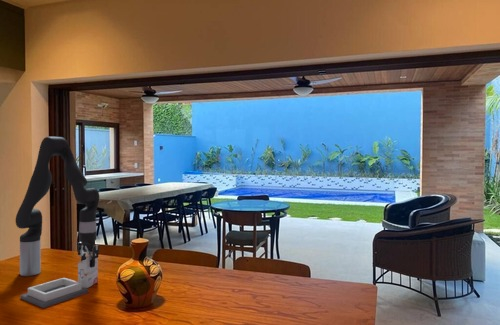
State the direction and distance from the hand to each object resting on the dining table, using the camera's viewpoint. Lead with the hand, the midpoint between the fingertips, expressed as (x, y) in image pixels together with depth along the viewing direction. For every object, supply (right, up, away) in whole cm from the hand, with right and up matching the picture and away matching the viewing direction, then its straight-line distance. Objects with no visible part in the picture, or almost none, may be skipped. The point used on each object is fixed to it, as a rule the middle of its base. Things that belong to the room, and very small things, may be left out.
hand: (88, 265), depth 177 cm
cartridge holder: (-9, -9, -13) cm, 18 cm away
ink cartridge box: (0, -9, 0) cm, 9 cm away
